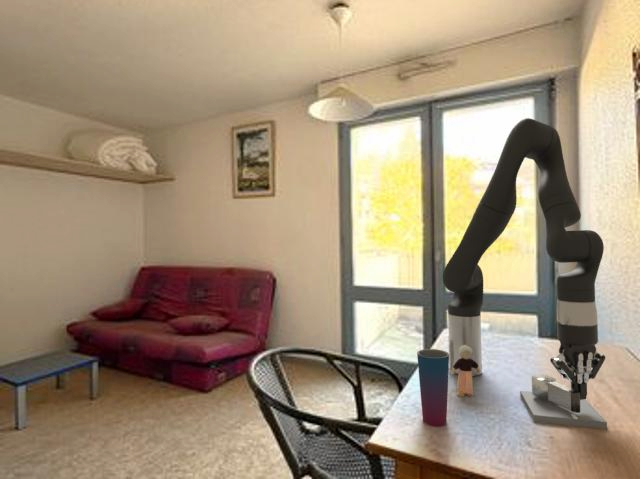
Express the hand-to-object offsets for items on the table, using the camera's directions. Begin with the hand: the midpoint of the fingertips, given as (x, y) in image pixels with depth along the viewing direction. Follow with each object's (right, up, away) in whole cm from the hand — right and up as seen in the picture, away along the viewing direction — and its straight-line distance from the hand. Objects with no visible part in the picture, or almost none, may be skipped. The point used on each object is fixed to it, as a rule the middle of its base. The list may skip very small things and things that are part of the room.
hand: (579, 398), depth 85 cm
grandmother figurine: (-20, -5, +14) cm, 24 cm away
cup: (-32, -5, 0) cm, 33 cm away
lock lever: (-4, -2, +3) cm, 5 cm away
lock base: (-3, -4, +3) cm, 6 cm away
